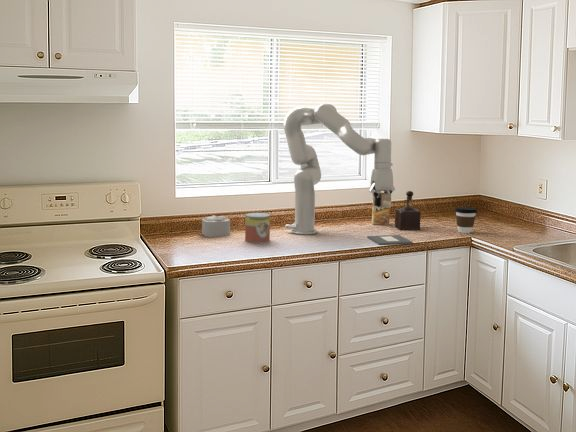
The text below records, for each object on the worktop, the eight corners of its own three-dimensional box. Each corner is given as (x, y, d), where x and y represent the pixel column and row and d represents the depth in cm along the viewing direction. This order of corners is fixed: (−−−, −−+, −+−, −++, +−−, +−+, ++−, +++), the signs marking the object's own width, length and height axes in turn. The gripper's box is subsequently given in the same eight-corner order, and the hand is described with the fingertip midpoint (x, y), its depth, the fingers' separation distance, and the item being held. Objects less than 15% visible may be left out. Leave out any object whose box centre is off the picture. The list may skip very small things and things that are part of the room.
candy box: (372, 224, 339) (373, 195, 337) (371, 223, 344) (372, 194, 341) (389, 225, 339) (390, 196, 336) (388, 223, 343) (389, 194, 341)
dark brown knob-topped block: (421, 230, 327) (423, 194, 324) (400, 230, 326) (402, 194, 322) (410, 224, 342) (412, 190, 339) (390, 224, 341) (392, 190, 338)
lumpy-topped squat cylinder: (200, 233, 311) (200, 215, 310) (226, 231, 317) (226, 214, 315) (206, 237, 302) (206, 219, 300) (233, 235, 307) (233, 217, 306)
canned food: (252, 244, 289) (252, 217, 287) (240, 239, 298) (240, 213, 296) (274, 241, 295) (274, 215, 293) (262, 237, 304) (262, 211, 302)
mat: (379, 244, 291) (379, 242, 291) (367, 237, 306) (367, 235, 306) (412, 243, 295) (412, 241, 294) (398, 236, 310) (399, 234, 310)
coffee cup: (473, 235, 316) (474, 210, 314) (450, 232, 321) (452, 208, 319) (478, 231, 325) (480, 207, 323) (456, 229, 330) (458, 205, 328)
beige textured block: (373, 205, 303) (373, 192, 302) (380, 205, 305) (380, 192, 304) (383, 207, 296) (384, 194, 295) (391, 207, 298) (391, 193, 297)
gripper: (391, 164, 304) (391, 203, 307) (362, 166, 296) (362, 206, 299) (402, 165, 298) (401, 205, 301) (372, 167, 290) (372, 208, 293)
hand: (381, 205), depth 300 cm, fingers closed on beige textured block, 4 cm apart
